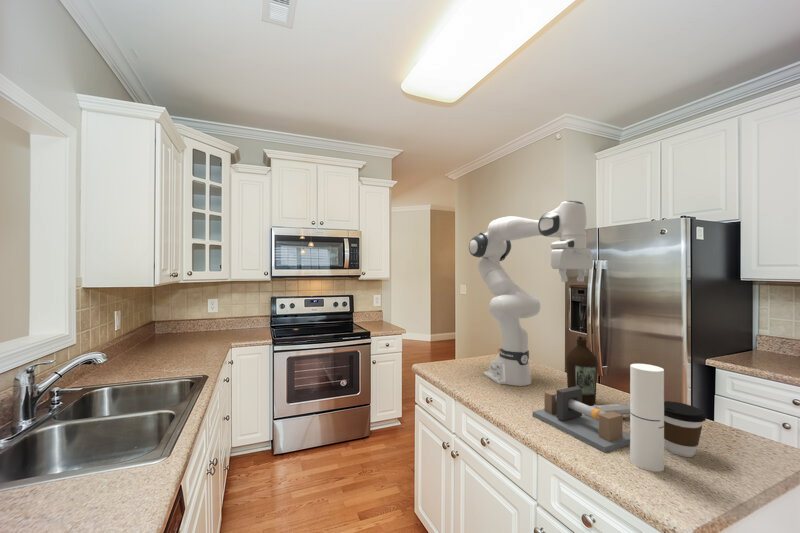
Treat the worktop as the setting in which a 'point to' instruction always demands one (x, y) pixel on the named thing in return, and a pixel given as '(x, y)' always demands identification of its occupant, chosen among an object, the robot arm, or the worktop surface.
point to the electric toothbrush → (615, 408)
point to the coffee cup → (682, 428)
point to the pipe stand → (586, 424)
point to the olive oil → (582, 370)
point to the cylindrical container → (647, 416)
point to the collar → (562, 402)
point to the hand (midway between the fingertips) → (572, 281)
